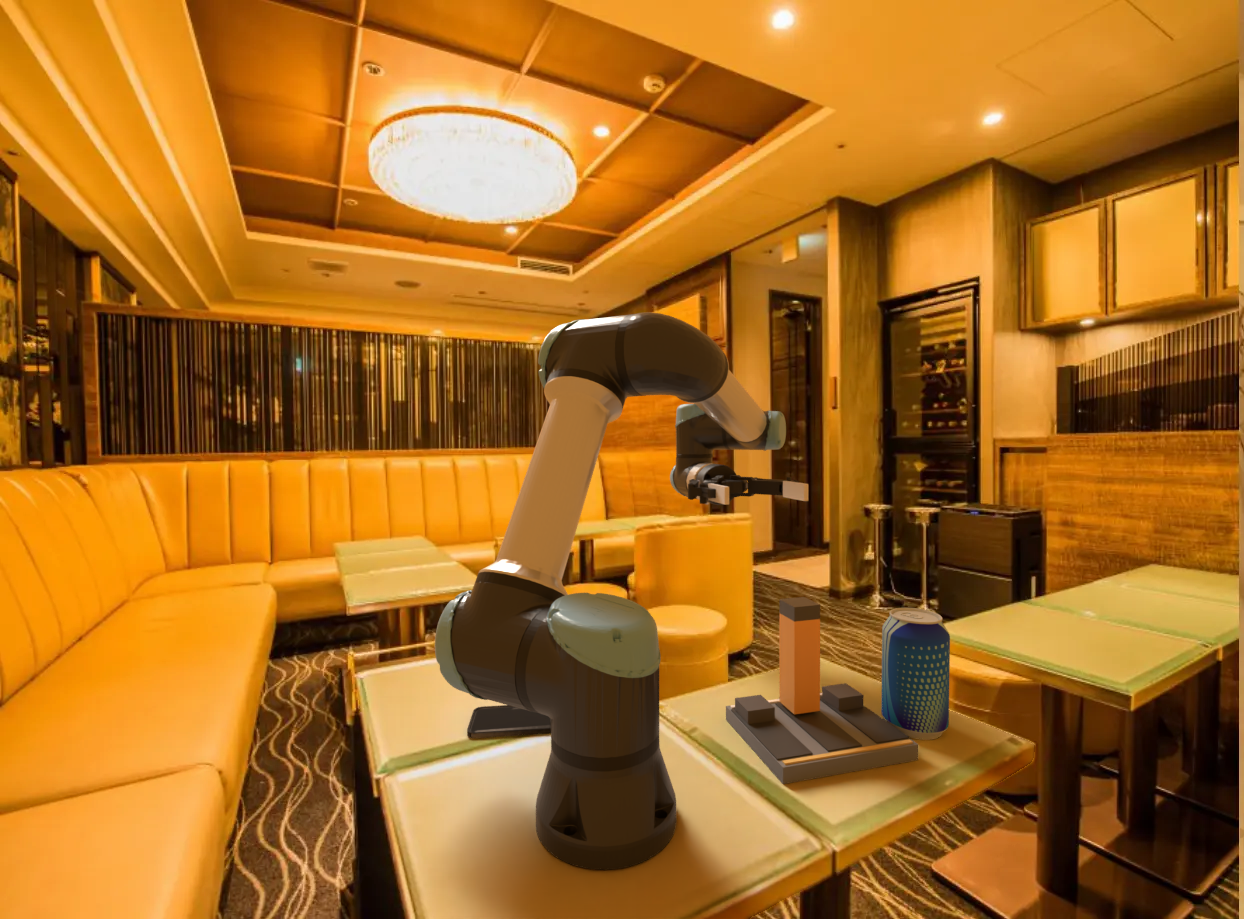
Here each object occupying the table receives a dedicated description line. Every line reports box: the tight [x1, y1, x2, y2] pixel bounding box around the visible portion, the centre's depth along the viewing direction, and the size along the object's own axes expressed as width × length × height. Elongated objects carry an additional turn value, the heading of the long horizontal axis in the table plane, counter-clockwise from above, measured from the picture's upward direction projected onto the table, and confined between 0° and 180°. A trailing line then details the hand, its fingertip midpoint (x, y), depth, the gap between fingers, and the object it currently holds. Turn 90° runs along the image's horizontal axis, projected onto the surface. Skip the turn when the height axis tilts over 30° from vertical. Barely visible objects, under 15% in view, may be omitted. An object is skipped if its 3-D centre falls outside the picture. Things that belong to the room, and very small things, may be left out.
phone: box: [466, 704, 551, 739], centre depth 84 cm, size 8×1×15 cm
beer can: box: [881, 607, 951, 741], centre depth 81 cm, size 8×8×16 cm
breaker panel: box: [725, 682, 919, 785], centre depth 78 cm, size 19×16×4 cm
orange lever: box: [778, 596, 821, 714], centre depth 82 cm, size 4×4×15 cm
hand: (767, 494), depth 90 cm, fingers open, 13 cm apart
